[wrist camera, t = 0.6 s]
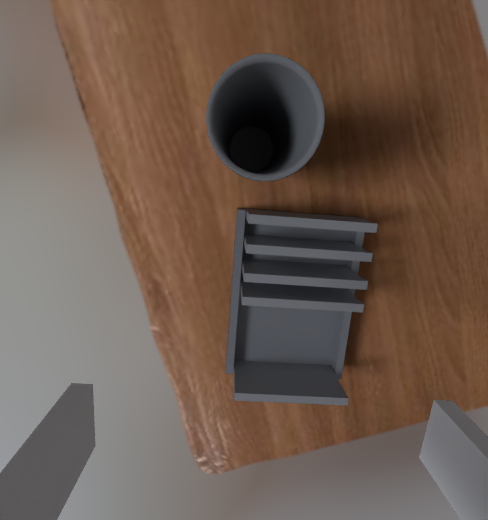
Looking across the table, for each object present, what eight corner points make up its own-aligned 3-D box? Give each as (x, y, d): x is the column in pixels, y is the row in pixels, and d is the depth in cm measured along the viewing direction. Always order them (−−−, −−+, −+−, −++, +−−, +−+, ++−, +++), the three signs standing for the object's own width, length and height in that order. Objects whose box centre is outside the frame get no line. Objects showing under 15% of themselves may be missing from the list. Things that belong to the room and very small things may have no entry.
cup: (294, 130, 33) (345, 84, 18) (268, 193, 34) (295, 198, 19) (232, 102, 32) (232, 30, 17) (208, 168, 33) (189, 153, 19)
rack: (237, 207, 34) (238, 213, 27) (356, 217, 35) (388, 224, 28) (226, 360, 38) (224, 399, 31) (333, 366, 39) (356, 405, 32)
